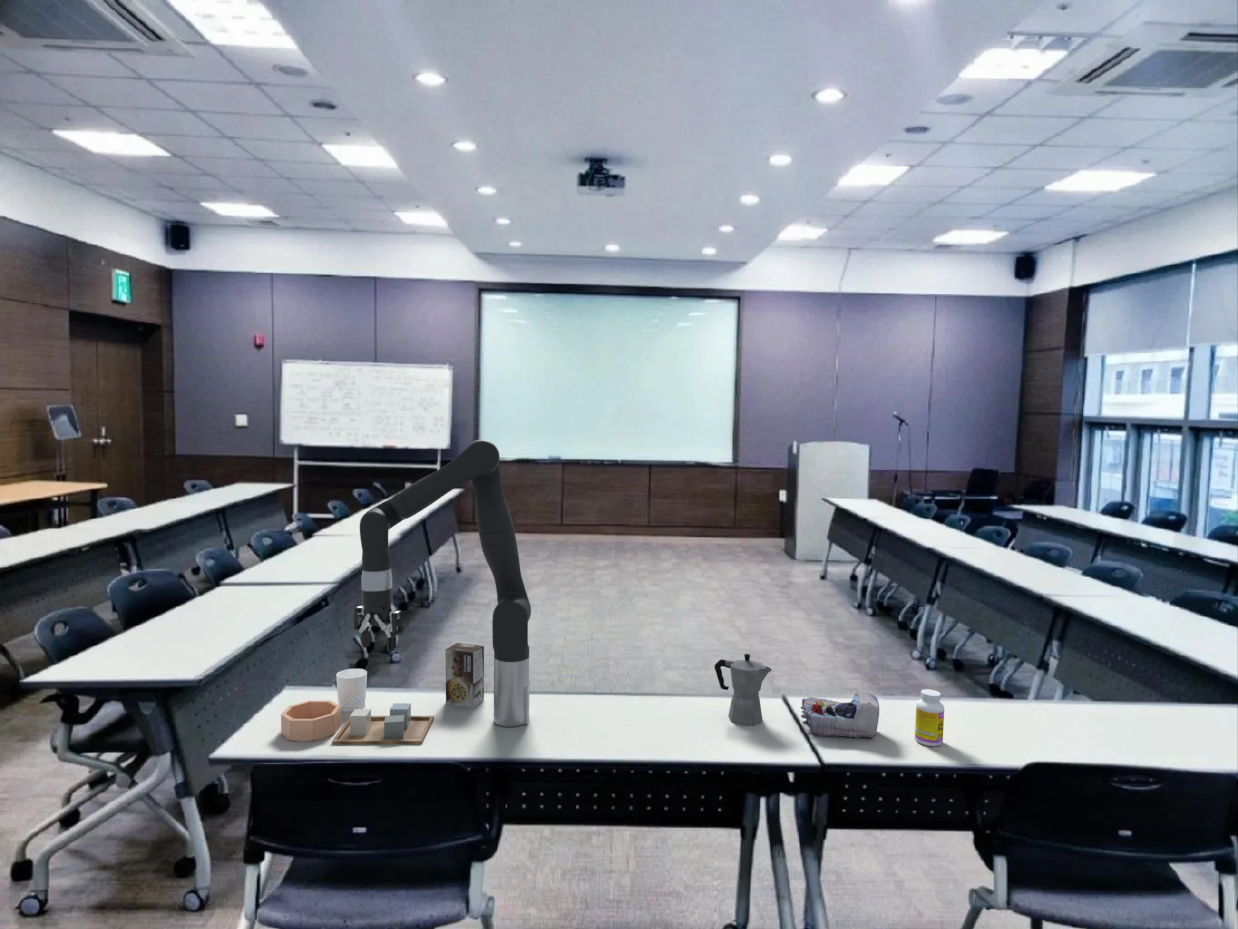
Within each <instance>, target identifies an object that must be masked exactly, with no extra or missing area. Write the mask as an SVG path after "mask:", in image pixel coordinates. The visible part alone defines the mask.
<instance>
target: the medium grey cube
mask: <svg viewBox="0 0 1238 929" xmlns="http://www.w3.org/2000/svg"><path fill="white" fill-rule="evenodd" d="M384 716H385V721H384V740H392V739H404V715H394V716H390V715H384Z"/></svg>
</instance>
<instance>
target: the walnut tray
mask: <svg viewBox="0 0 1238 929" xmlns="http://www.w3.org/2000/svg"><path fill="white" fill-rule="evenodd" d="M385 716H386V715H371V729H370V731H369V732H368V734H367V735H350V717H349V718H348V719H347V721H346V722H345V723H344V725H343V726H342V727H341V728H340V729H339V730H338V731H337V732H338V733H337V734H336V735H335V736H334V738H333V739H332V741H331V745H333V746H334V745H336V746H337V745H341V746H342V745H343V746H344V745H423V744H424V740H426V737H427V735H428V733H429V731H430V728H431V726H432V725H433V722H434V720H435V715H411V723H410V725H409V726H408V728H404V739H392V740H384V721H385Z"/></svg>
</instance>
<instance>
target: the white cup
mask: <svg viewBox="0 0 1238 929" xmlns="http://www.w3.org/2000/svg"><path fill="white" fill-rule="evenodd" d="M367 679H368V671H367V670H365V669H363V668H348V669H344V670H343V669H342V670H340V671H338V672H337V673H336V690H337V693H336V694H337V704H338V705H340V706H341V712H346V713H352V712H353V711H354V710H355V709H365V707H366V698H367V697H366V696H367V681H368V680H367Z"/></svg>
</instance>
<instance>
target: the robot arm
mask: <svg viewBox="0 0 1238 929" xmlns="http://www.w3.org/2000/svg"><path fill="white" fill-rule="evenodd" d="M500 458H501V457H500V452H499V449H498V447H497V446H496V445H495V443H493V442H492V441H490V440H488V439H475V440H473V441H472V442H470V443H469V444H468V445H467V446H466V447H465V449H464V450H463V451H461V453H460V454H458V455H457V456H456V457H454V459H452V460H451V461H450V462H448V463H447V464H446V465H444V466H442V467H440V468H439V469H437V470H436V471H433V472H432V473H430V474H428V475H426V476H423V477H422V478H421V479H419V480H417V481H416V482H413V483H411V484H410V485H408V486H406V487H405V488H403V489H402V490H400V491H399V492H397V493H396V494H395V495H393V496H392V497H391V498H389V499H386V500H385V501H382V502H381V503H380V504H377V505H375V506H373V507H372V508H370V509H369V510H367V511H366V512H365V513H364V514H363V515H362V516H361V518H360V521H359V538H360V545H361V550H362V552H361V566H362V567H361V568H362V569H361V572H362V573H361V604H362V605H360V606H359V605H358V606H356V607H354V609H353V610H354V612H353V630H355V631H358V633H360V644H361V647H362V648H368V647H370V645H371V631H370V630H371V628H372V627H378V628H380V629H381V631H384V633H385V635H386V650H387V652H389V653H392V652H394V651H395V650H396V649H397V636H399V635H401V634H403V633H404V630H403V617H402V616H403V615H402V611H401V610H398V611H393V610H392V608H391V606H392V604H393V603H394V602H393V601H394V600H393V598H394V597H393V595H394V594H393V575H392V574H393V573H392V560H391V559H392V558H391V550H390V546H389V530H391V529H392V528H394V527H395V526H396V525H398V524H399V523H401V522H403V521H404V520H407V519H410V518H412V517H415V515H417V514H418V513H420V512H421V511H424V510H425V509H426V508H428V507H429V506H431V505H432V504H434V503H435V502H437V501H438V500H440V499H441V498H443V497H444V496H445V495H447V494H448V493H450V492H451V491H453V490H454V489H456V488H458V487H459V486H461V485H463V484H466V483H468V482H469V481H471V483H472V484H471V485H472V487H473V492H474V495H475V513H476V523H477V530H478V536H479V541H480V546H481V550H482V554H483V556H484V559H485V561H486V563H487V565H488V567H489V569H490V572H491V573H492V576H493V578H494V583H495V590H496V597H497V599H496V600H497V605H496V606H495V607H494V610H493V613H492V622H491V623H492V624H491V625H492V629H491V630H492V632H491V633H492V634H491V635H492V649H493V654H494V655H493V656H494V657H493V722H494V724H495V725H497V726H500V727H506V728H507V727H510V728H511V727H519V726H522V725H528V724H529V718H530V690H531V688H530V686H531V685H530V684H531V682H530V646H529V631H528V630H529V620H530V619H531V615H532V606H531V603H530V600H529V597H528V596H529V595H528V594H527V590H526V588H525V583H524V581H523V577H522V572H521V563H520V556H519V549H518V542H517V538H516V531H515V526H514V522H513V518H512V515H511V512H510V508H509V506H508V502H507V499H506V496H505V494H504V491H503V487H502V479H501V470H500Z"/></svg>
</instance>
